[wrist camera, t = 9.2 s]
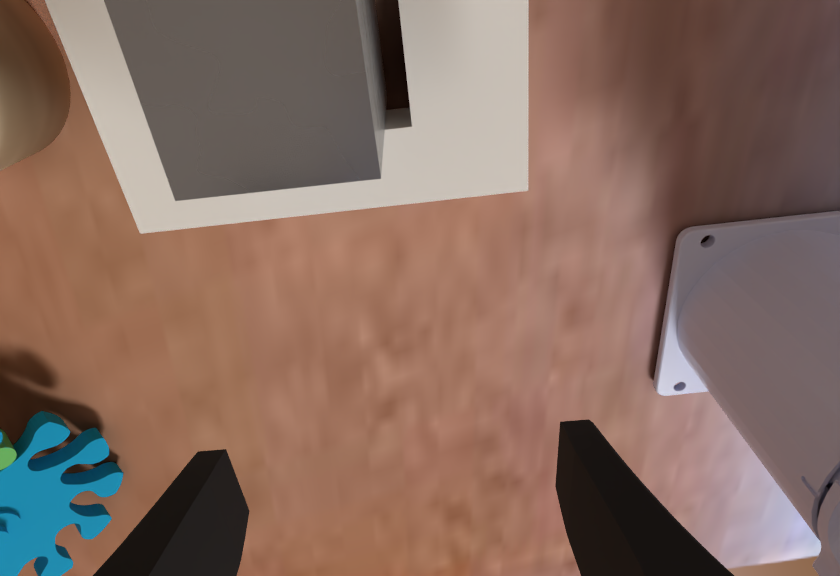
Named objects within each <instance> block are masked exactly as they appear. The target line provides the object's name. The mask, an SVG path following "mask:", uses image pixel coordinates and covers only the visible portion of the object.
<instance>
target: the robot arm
mask: <svg viewBox="0 0 840 576" xmlns="http://www.w3.org/2000/svg"><path fill="white" fill-rule="evenodd" d="M707 235H710V237H709V239H708V240H707V241H706V242H704V243H701V240H702V239H703V238H704V237H705V236H707ZM678 382H680V383H679V384H677V383H678ZM675 384H677V385H675ZM653 386H654V388H655V390H656V391H657V393H658V394H660V395H663V396H668V395H677V394H687V393H697V392H707V391H709V392H710V394H711V395H712V396H713V398H714V399H715V400H716V402H717V403H718V404H719V406H720V407H721V408H722V410H723V411H724V412H725V414H726V415H727V416H728V418H729V419H730V421H731V422H732V423H733V425H734V426H735V427H736V429H737V430H738V431H739V433H740V434H741V435H742V437H743V438H744V439H745V441H746V442H747V443H748V445H749V446H750V448H751V449H752V450H753V452H754V453H755V454H756V456H757V457H758V458H759V460H760V461H761V462H762V464H763V465H764V466H765V468H766V469H767V470H768V472H769V473H770V474H771V476H772V477H773V479H774V480H775V481H776V483H777V484H778V485H779V487H780V488H781V489H782V491H783V492H784V493H785V495H786V496H787V497H788V499H789V500H790V501H791V503H792V504H793V506H794V507H795V508H796V510H797V511H798V512H799V514H800V515H801V516H802V518H803V519H804V520H805V522H806V523H807V524H808V526H809V527H810V528H811V530H812V531H813V533H814V534H815V535H816V537H817V538H818V539H819V540H820V541H821V551H820V554H819V556H818V557H817V559H816V560H815V561H814V563H813V567H814V569H815V570H816V571H817V573H818V574H819V576H840V211H831V212H822V213H813V214H803V215H794V216H785V217H776V218H767V219H757V220H748V221H739V222H730V223H721V224H711V225H702V226H693V227H689V228H686V229H684V230H683V231H681V233H680V234H679V235H678V237H677V240H676V245H675V251H674V257H673V263H672V270H671V276H670V282H669V288H668V295H667V301H666V307H665V313H664V320H663V326H662V332H661V338H660V345H659V351H658V357H657V363H656V370H655V376H654V382H653ZM556 490H557V495H558V499H559V503H560V508H561V512H562V516H563V520H564V525H565V529H566V533H567V536H568V539H569V542H570V545H571V548H572V551H573V553H574V556H575V559H576V562H577V565H578V568H579V571H580V574H581V576H734V575H733V574H732V573H731V572H729V571H728V570H727V569H726V568H725V567H724V566H723V565H722V564H721V563H720V562H719V561H718V560H717V559H716V558H714V557H713V556H712V555H711V554H710V553H709V552H708V551H707V550H706V549H705V548H704V547H703V546H702V545H701V544H700V543H699V542H698V541H697V540H696V539H695V538H694V537H693V536H692V535H691V534H690V533H689V532H688V531H687V530H686V529H685V528H684V527H683V526H682V525H681V524H680V523H679V522H678V521H677V520H676V519H675V518H674V517H673V516H672V515H671V514H670V513H669V511H668V510H667V509H666V508H665V507H664V506H663V505H662V504H661V503H660V502H659V501H658V500H657V498H656V497H655V496H654V495H653V494H652V493H651V492H650V491H649V490H648V489H647V487H646V486H645V485H644V484H643V483H642V482H641V481H640V480H639V478H638V477H637V476H636V475H635V474H634V473H633V472H632V470H631V469H630V468H629V467H628V466H627V464H626V463H625V462H624V461H623V460H622V458H621V457H620V456H619V455H618V454H617V452H616V451H615V450H614V449H613V447H612V446H611V445H610V444H609V442H608V441H607V440H606V439H605V437H604V436H603V435H602V434H601V432H600V431H599V430H598V428H597V427H596V426H595V425H594V423H593V422H591V421H590V420H578V421H565V422H560V433H559V447H558V460H557V474H556ZM248 516H249V509H248V506H247V503H246V501H245V498H244V496H243V493H242V490H241V488H240V485H239V482H238V480H237V477H236V475H235V472H234V469H233V467H232V464H231V461H230V459H229V456H228V453H227V451H226V449H225V450H212V451H200V452H197V453H196V455H195V456H194V457H193V458H192V459H191V461H190V462H189V463H188V464H187V465H186V467H185V468H184V469H183V470H182V471H181V473H180V474H179V475H178V476H177V478H176V479H175V480H174V481H173V483H172V484H171V485H170V486H169V487H168V489H167V490H166V491H165V492H164V494H163V495H162V496H161V497H160V498H159V500H158V501H157V502H156V503H155V505H154V506H153V507H152V508H151V509H150V511H149V512H148V513H147V514H146V515H145V517H144V518H143V519H142V520H141V521H140V523H139V524H138V525H137V526H136V527H135V528H134V530H133V531H132V532H131V533H130V534H129V536H128V537H127V538H126V539H125V540H124V541H123V543H122V544H121V545H120V546H119V547H118V548H117V550H116V551H115V552H114V553H113V554H112V555H111V556H110V557H109V558H108V560H107V561H106V562H105V563H104V564H103V565H102V566H101V567H100V568H99V569H98V571H97V572H96V573H95V574H94V575H93V576H237V572H238V568H239V565H240V561H241V557H242V551H243V546H244V540H245V535H246V528H247V522H248Z"/></svg>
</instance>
